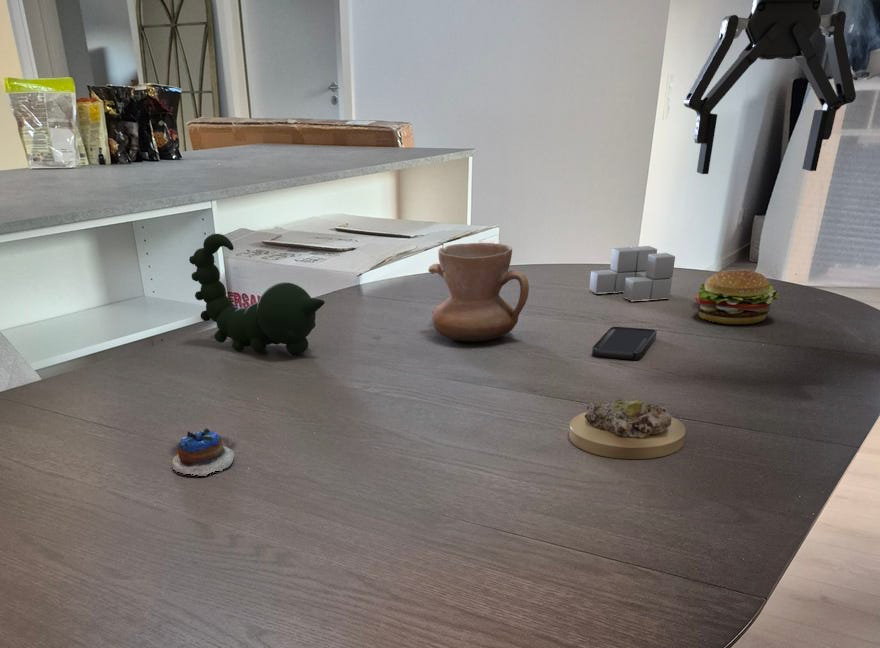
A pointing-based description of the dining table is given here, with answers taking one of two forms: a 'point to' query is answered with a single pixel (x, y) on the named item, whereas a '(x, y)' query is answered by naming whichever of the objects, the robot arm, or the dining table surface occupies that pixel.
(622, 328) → the phone
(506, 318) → the ceramic jug
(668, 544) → the dining table surface
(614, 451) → the wood disc
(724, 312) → the food
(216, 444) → the dessert
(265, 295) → the toy figurine
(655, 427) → the mineral rock
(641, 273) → the puzzle cube
